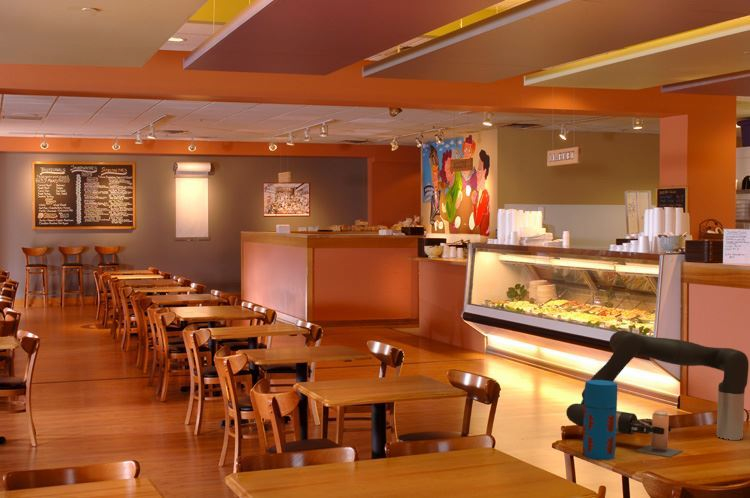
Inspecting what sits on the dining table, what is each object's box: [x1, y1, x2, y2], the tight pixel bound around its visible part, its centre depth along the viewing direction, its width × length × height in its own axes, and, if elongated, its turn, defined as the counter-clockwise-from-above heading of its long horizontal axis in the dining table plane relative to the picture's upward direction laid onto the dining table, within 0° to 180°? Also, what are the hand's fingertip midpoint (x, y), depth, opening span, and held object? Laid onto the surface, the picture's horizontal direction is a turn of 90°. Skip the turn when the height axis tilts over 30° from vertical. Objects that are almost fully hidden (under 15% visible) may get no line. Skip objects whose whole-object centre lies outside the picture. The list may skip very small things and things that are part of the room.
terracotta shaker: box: [650, 410, 670, 448], centre depth 330 cm, size 6×6×12 cm
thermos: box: [582, 379, 619, 461], centre depth 322 cm, size 11×11×25 cm
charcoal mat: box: [635, 444, 684, 459], centre depth 331 cm, size 12×12×1 cm
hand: (667, 430), depth 329 cm, fingers closed on terracotta shaker, 5 cm apart
